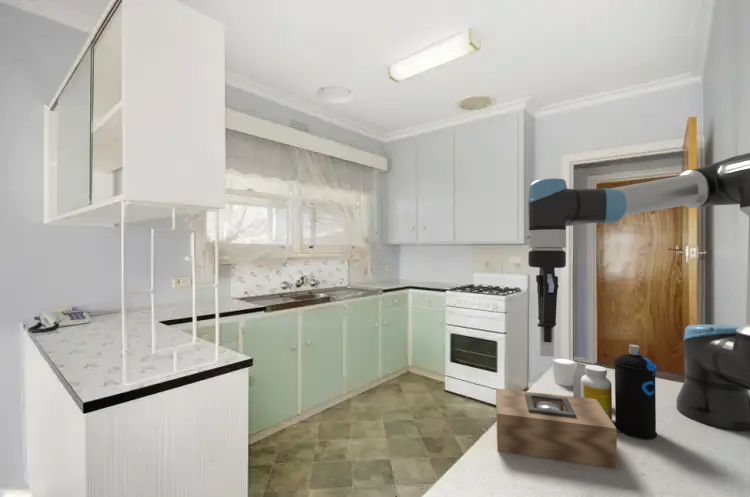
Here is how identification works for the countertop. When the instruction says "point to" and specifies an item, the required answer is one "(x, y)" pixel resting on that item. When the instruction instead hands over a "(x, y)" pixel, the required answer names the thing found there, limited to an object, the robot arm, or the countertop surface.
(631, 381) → the aerosol can
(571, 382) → the white cup
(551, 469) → the countertop surface
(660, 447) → the countertop surface
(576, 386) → the grey boxy piece
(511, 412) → the socket block
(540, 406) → the peg
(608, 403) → the supplement bottle
